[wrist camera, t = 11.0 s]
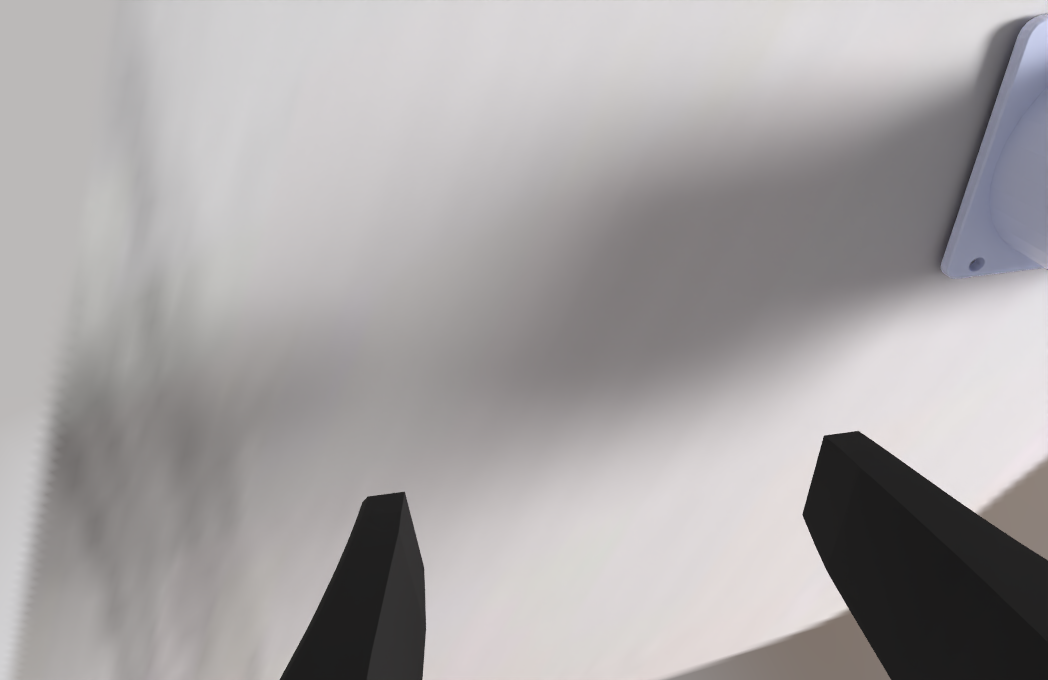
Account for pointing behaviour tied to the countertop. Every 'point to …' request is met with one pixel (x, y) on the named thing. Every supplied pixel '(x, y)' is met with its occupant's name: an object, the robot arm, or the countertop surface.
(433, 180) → the countertop surface
